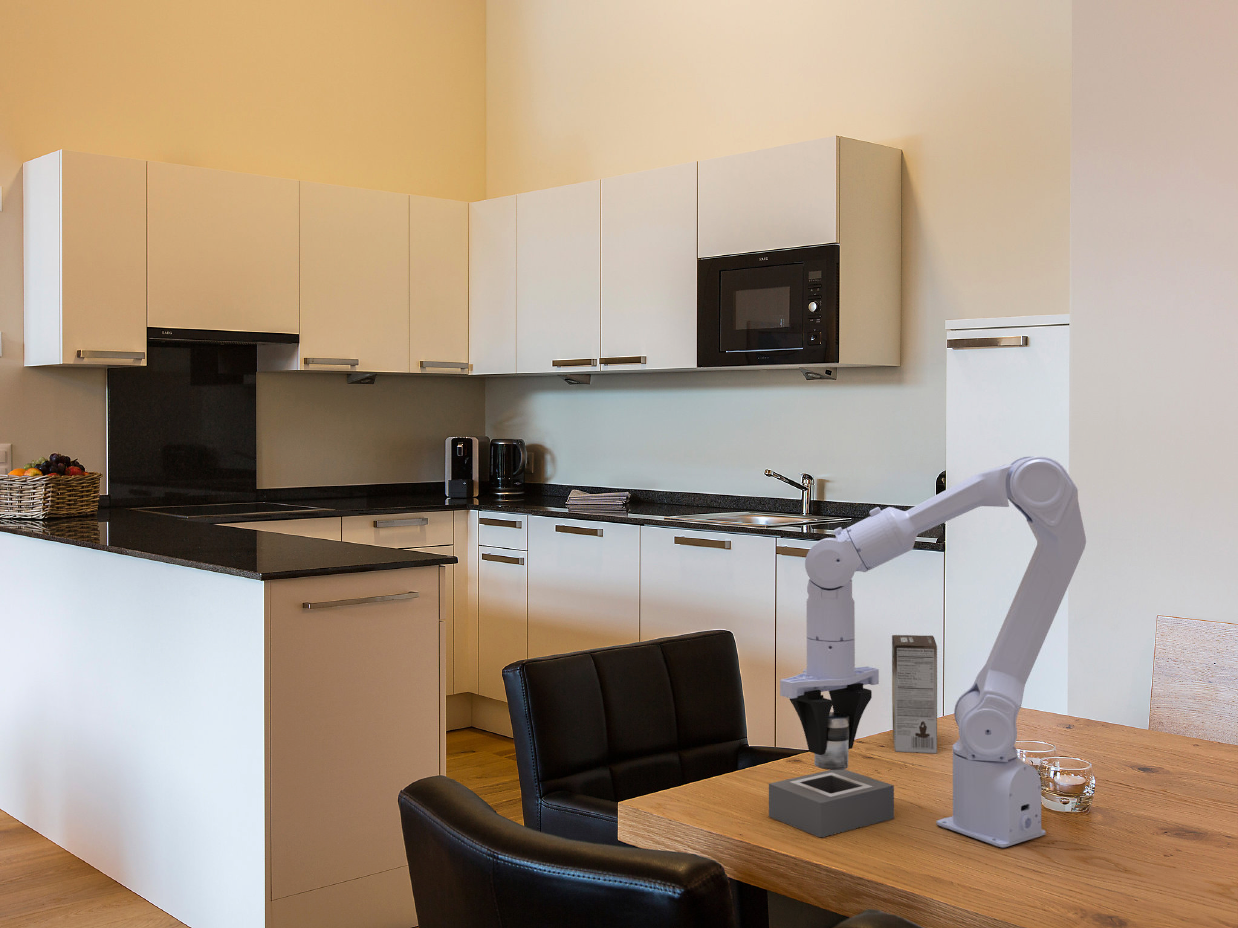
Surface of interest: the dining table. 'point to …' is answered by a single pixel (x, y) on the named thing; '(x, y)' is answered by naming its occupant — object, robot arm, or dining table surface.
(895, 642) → the coffee box
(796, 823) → the grey hollow block
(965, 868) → the dining table surface
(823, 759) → the lens
